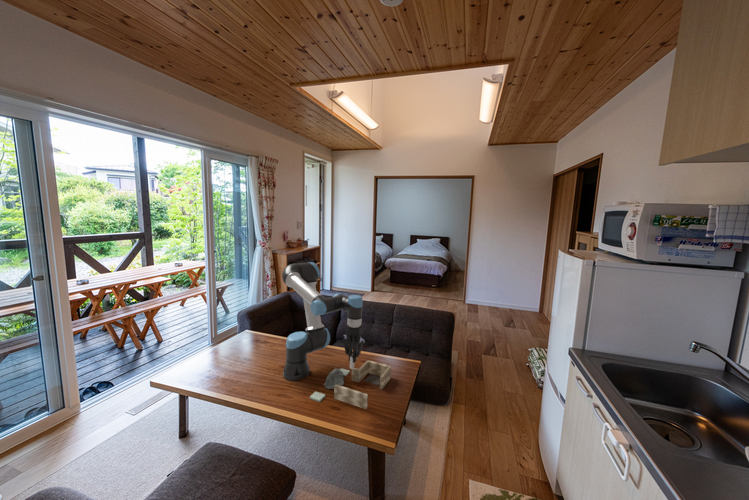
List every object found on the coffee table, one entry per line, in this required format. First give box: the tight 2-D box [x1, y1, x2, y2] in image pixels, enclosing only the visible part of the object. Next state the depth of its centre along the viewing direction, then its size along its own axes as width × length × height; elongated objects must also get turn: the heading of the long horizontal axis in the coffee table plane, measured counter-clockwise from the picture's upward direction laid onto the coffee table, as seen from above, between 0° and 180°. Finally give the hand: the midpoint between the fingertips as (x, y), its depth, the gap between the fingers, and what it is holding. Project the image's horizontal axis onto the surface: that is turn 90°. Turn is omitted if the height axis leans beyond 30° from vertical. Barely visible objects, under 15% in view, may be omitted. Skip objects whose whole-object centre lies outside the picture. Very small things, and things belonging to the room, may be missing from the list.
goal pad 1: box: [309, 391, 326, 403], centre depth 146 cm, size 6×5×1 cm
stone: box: [323, 368, 345, 390], centre depth 156 cm, size 10×10×10 cm
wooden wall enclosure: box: [333, 360, 392, 410], centre depth 156 cm, size 19×32×7 cm, turn 156°
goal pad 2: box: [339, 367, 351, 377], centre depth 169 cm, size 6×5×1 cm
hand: (351, 367), depth 152 cm, fingers closed
